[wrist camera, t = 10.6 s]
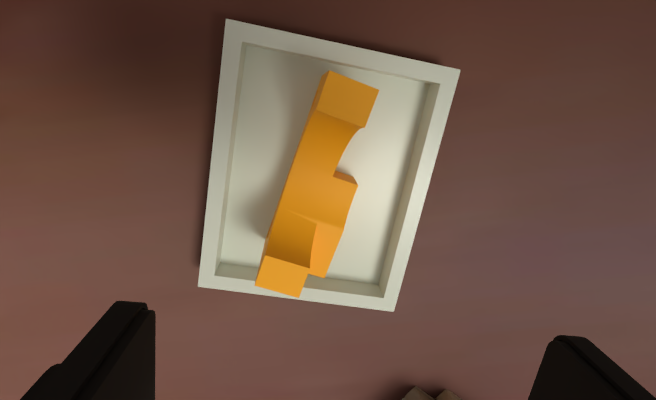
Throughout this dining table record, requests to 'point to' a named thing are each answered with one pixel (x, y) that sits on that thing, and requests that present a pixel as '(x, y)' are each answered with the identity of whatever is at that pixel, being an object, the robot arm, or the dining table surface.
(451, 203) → the dining table surface
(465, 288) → the dining table surface
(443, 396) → the block tower
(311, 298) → the tray
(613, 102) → the dining table surface
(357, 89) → the pipe clamp
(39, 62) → the dining table surface
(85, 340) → the robot arm
